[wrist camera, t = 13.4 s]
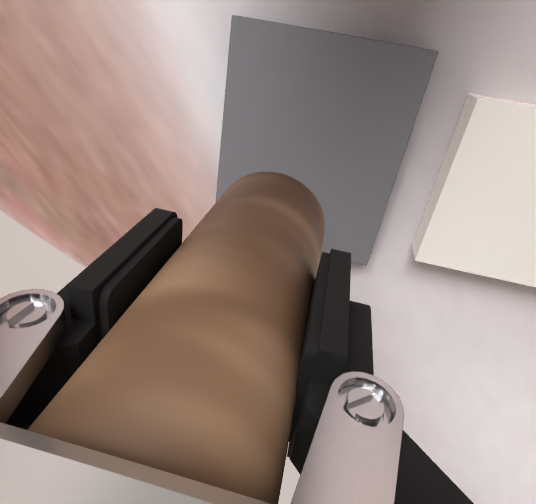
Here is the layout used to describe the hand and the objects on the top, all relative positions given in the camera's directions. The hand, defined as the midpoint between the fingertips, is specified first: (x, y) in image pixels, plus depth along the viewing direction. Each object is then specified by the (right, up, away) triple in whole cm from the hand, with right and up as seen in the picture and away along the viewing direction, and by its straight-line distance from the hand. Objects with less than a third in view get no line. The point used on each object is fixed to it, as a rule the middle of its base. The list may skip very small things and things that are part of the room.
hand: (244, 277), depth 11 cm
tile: (+20, +2, +9) cm, 22 cm away
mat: (+3, +7, +12) cm, 14 cm away
